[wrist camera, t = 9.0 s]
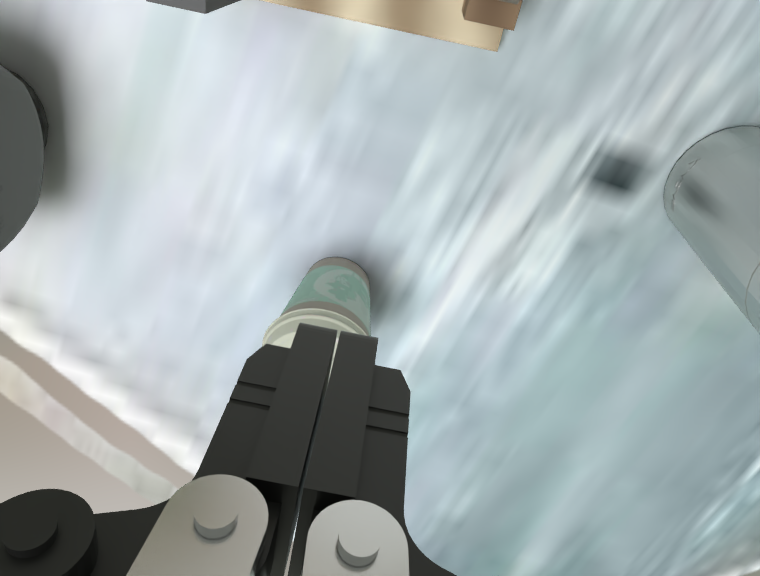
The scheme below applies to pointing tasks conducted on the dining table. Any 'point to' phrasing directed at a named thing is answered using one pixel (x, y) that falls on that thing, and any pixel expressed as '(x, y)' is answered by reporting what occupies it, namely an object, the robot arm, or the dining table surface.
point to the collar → (196, 4)
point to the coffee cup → (326, 303)
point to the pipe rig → (426, 17)
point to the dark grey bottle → (19, 153)
